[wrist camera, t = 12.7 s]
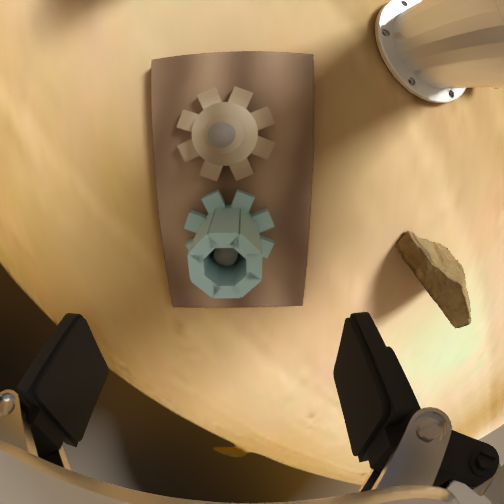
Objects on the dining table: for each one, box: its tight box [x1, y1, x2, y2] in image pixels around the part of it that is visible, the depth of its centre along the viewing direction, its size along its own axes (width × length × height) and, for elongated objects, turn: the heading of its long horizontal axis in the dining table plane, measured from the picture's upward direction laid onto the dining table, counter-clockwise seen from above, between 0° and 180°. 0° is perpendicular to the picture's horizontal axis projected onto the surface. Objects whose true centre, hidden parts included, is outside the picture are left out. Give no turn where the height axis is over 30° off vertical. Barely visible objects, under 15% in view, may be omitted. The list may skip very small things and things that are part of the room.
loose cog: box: [184, 189, 275, 298], centre depth 23 cm, size 8×8×7 cm
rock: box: [396, 231, 471, 328], centre depth 27 cm, size 11×9×10 cm
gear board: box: [151, 51, 314, 308], centre depth 23 cm, size 14×25×7 cm, turn 0°
